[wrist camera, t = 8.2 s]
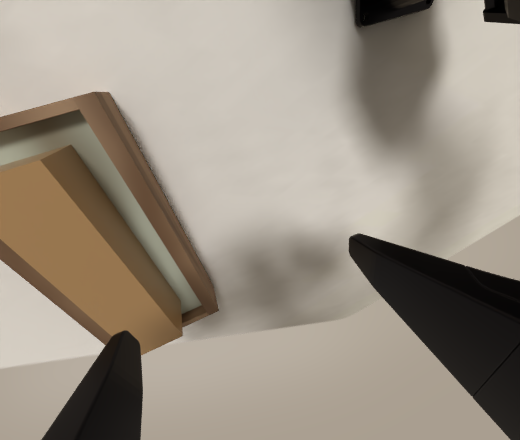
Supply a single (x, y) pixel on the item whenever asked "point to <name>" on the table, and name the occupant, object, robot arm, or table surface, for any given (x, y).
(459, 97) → the table surface
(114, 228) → the tan rectangular block
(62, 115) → the brown picture frame
